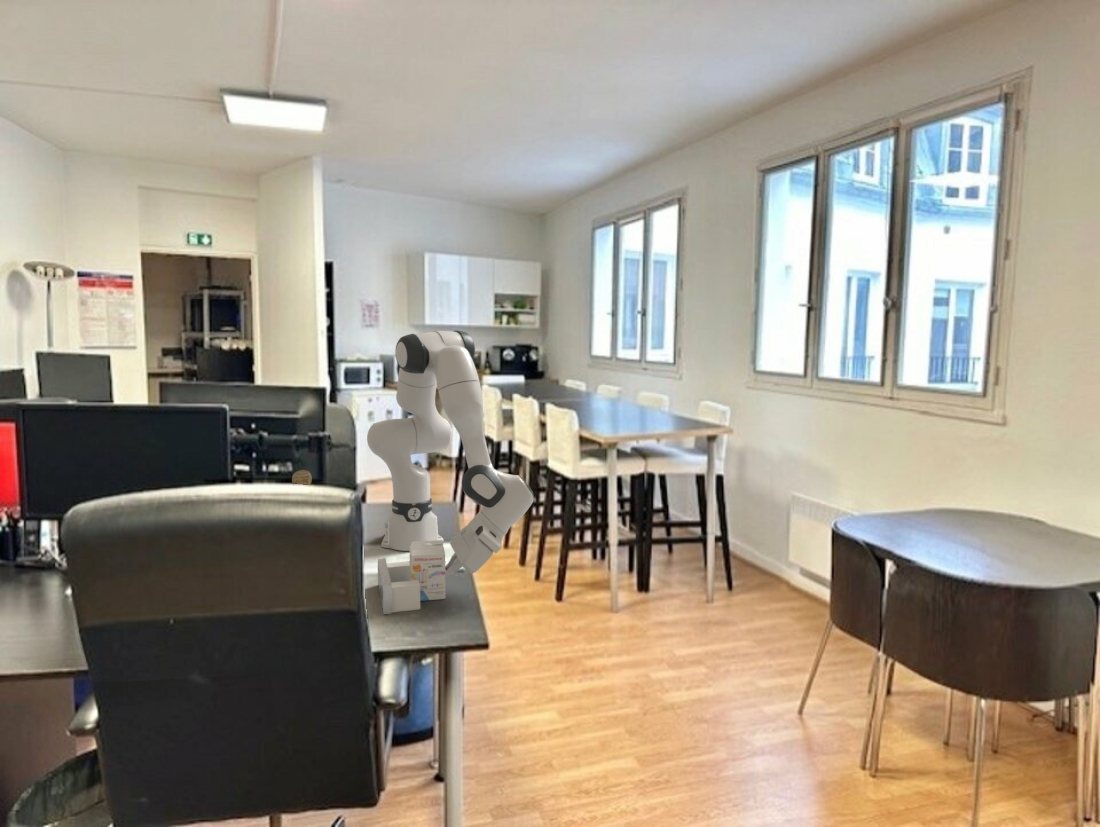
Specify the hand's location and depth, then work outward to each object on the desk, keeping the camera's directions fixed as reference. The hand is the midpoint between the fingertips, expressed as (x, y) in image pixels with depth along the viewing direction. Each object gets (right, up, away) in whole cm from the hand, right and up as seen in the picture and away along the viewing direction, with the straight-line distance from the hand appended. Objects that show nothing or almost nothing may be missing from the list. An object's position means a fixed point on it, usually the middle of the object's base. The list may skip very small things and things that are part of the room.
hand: (447, 572), depth 182 cm
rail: (-15, -6, -4) cm, 16 cm away
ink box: (-5, -6, -1) cm, 7 cm away
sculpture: (-37, -5, +6) cm, 38 cm away
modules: (-11, -6, -3) cm, 12 cm away
